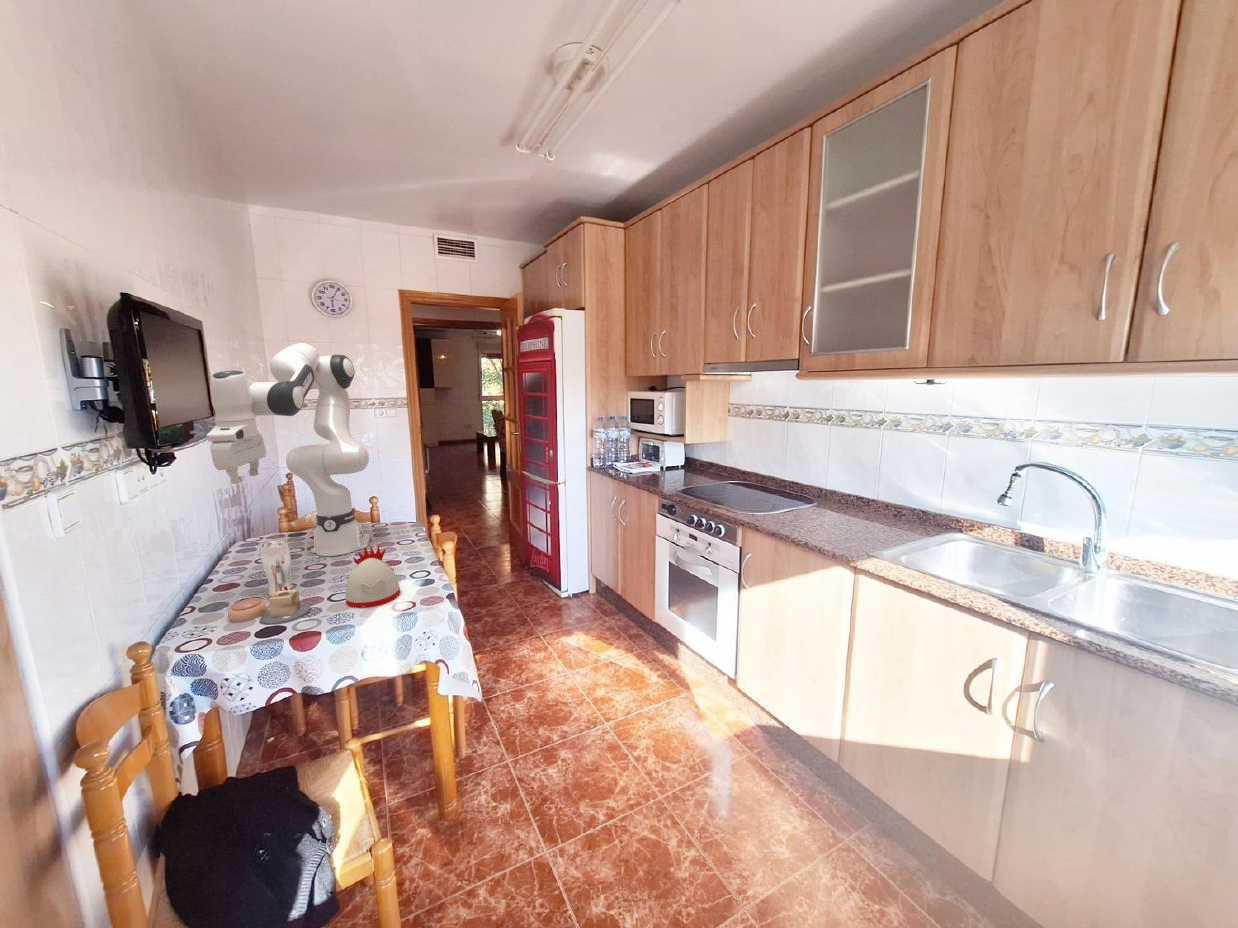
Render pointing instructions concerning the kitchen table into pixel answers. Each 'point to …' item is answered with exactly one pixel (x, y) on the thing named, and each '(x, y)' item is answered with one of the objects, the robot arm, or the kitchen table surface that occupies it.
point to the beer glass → (277, 565)
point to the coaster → (299, 613)
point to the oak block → (284, 603)
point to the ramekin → (246, 610)
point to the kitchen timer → (371, 581)
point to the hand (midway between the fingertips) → (245, 479)
